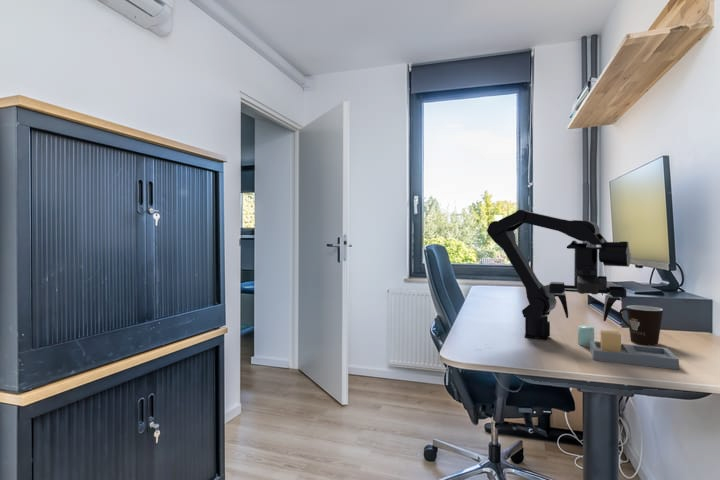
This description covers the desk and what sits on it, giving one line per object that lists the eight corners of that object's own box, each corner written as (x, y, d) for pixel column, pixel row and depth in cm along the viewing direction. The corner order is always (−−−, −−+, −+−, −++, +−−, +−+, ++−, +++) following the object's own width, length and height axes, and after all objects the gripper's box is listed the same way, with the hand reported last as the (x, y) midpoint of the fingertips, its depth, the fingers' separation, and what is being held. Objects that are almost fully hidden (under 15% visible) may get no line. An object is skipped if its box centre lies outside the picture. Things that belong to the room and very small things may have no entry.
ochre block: (602, 352, 99) (602, 333, 99) (600, 348, 103) (600, 329, 103) (621, 354, 97) (621, 335, 97) (618, 350, 101) (618, 331, 101)
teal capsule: (578, 345, 110) (578, 328, 110) (577, 342, 114) (577, 325, 114) (594, 347, 108) (594, 329, 108) (593, 343, 112) (593, 326, 112)
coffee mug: (669, 347, 108) (669, 311, 108) (634, 345, 110) (634, 310, 109) (647, 336, 119) (647, 304, 119) (616, 335, 121) (616, 303, 121)
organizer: (593, 359, 97) (593, 350, 97) (589, 349, 106) (589, 340, 106) (678, 369, 90) (678, 359, 90) (667, 357, 99) (667, 348, 99)
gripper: (549, 265, 108) (549, 322, 108) (630, 268, 100) (630, 329, 100) (549, 263, 118) (549, 314, 118) (623, 265, 110) (622, 320, 110)
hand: (585, 319), depth 111 cm, fingers open, 9 cm apart
